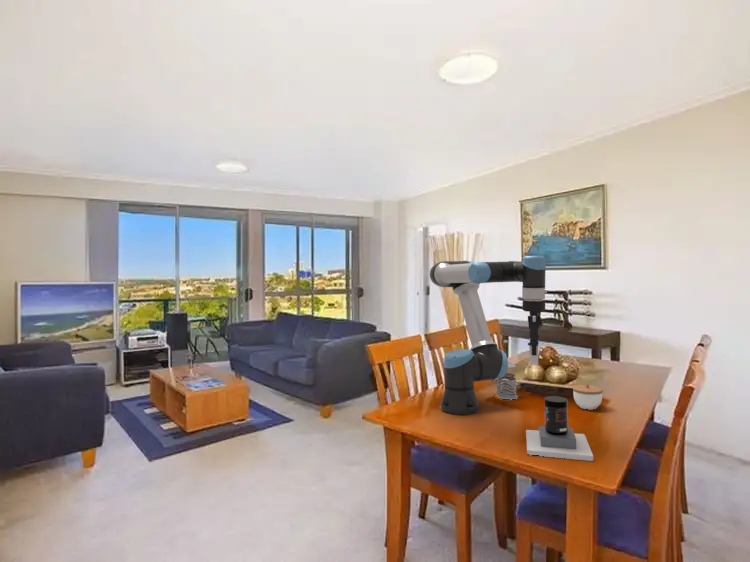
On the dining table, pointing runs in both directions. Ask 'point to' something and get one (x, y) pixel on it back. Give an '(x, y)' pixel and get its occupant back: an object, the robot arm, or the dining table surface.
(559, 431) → the supplement container
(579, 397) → the lidded jar
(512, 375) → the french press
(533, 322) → the robot arm
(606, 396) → the dining table surface
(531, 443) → the build base
